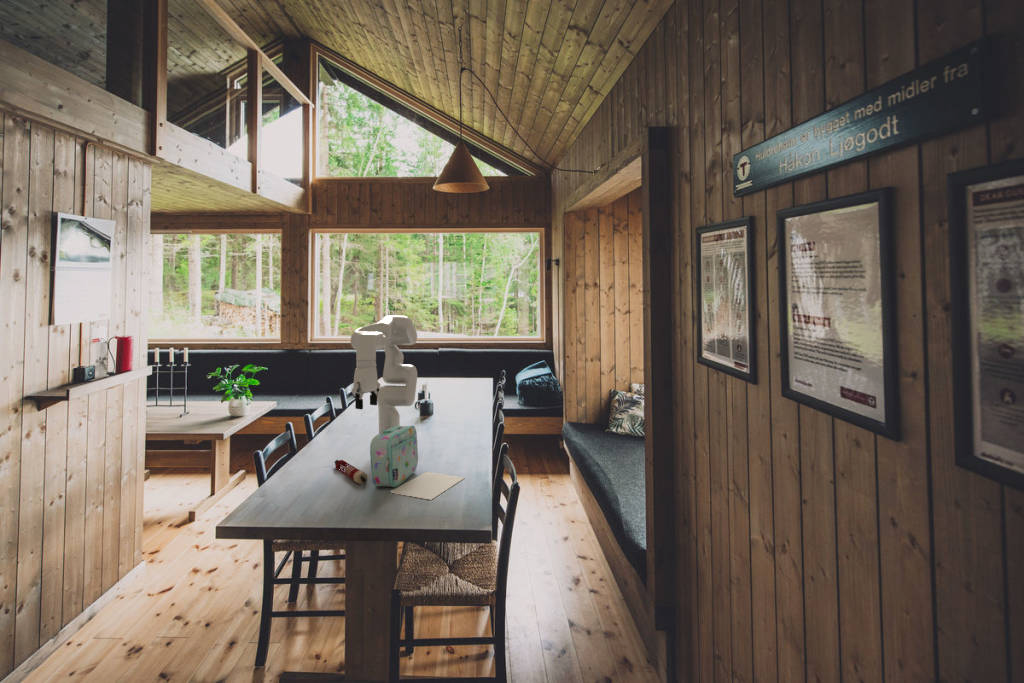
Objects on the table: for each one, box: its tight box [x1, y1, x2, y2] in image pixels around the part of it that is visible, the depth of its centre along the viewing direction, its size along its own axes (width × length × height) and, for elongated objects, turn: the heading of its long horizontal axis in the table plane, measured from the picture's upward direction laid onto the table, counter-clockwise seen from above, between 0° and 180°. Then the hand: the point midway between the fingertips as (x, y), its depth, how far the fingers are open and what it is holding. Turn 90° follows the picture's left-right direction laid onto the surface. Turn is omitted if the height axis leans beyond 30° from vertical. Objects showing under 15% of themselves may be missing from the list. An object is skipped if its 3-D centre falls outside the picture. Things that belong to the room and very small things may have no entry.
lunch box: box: [369, 425, 419, 488], centre depth 208 cm, size 27×10×21 cm, turn 168°
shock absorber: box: [334, 459, 369, 485], centre depth 213 cm, size 5×5×30 cm
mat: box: [389, 471, 465, 501], centre depth 203 cm, size 18×26×1 cm
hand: (366, 406), depth 212 cm, fingers open, 8 cm apart
